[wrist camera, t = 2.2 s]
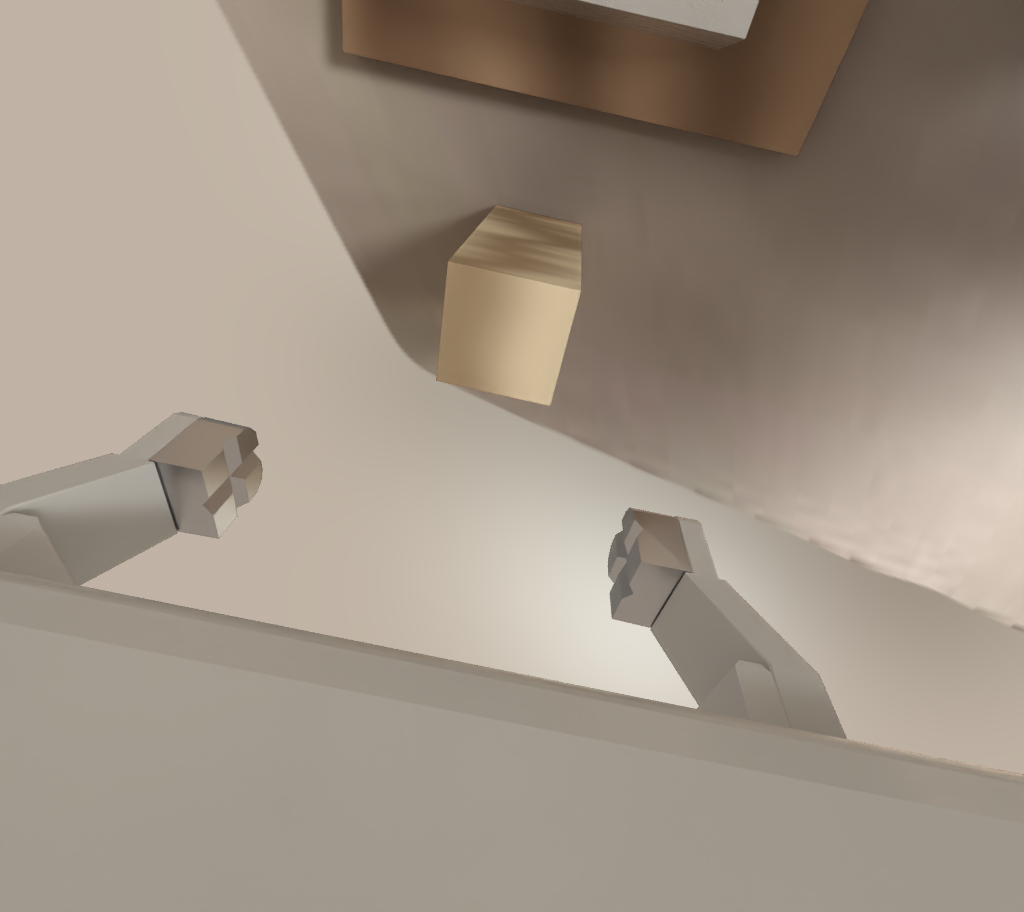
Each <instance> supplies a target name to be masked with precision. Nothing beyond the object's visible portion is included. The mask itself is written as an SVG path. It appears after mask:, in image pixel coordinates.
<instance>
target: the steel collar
mask: <svg viewBox="0 0 1024 912" xmlns="http://www.w3.org/2000/svg"><path fill="white" fill-rule="evenodd" d="M506 1H510V2H514V3H519V4H523V5H527V6H531V7H536V8H540V9H544V10H549V11H553V12H557V13H562V14H566V15H570V16H574V17H579V18H583V19H587V20H592V21H596V22H600V23H605V24H609V25H613V26H618V27H622V28H626V29H630V30H635V31H639V32H643V33H648V34H652V35H656V36H661V37H665V38H669V39H673V40H678V41H682V42H686V43H691V44H695V45H699V46H704V47H708V48H712V49H716V50H719V49H722V48H724V47H727V46H729V45H731V44H734V43H736V42H739V41H741V40H744V39H745V38H746V35H747V33H748V30H749V27H750V24H751V22H752V19H753V16H754V13H755V10H756V8H757V5H758V2H759V0H506Z"/></svg>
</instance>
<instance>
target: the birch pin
mask: <svg viewBox="0 0 1024 912" xmlns="http://www.w3.org/2000/svg"><path fill="white" fill-rule="evenodd" d="M581 252H582V224H577V223H573V222H569V221H564V220H560V219H555V218H551V217H546V216H542V215H538V214H533V213H529V212H524V211H520V210H516V209H511V208H507V207H502V206H498V205H496V206H495V207H494V208H493V209H492V211H491V212H490V213H489V214H488V215H487V216H486V218H485V219H484V220H483V221H482V222H481V223H480V225H479V226H478V227H477V228H476V229H475V230H474V232H473V233H472V234H471V235H470V236H469V237H468V239H467V240H466V241H465V242H464V243H463V244H462V246H461V247H460V248H459V249H458V250H457V251H456V252H455V254H454V255H453V256H452V257H451V258H450V259H449V261H448V266H447V276H446V286H445V297H444V307H443V317H442V327H441V337H440V347H439V357H438V367H437V377H436V381H440V382H445V383H449V384H454V385H458V386H463V387H467V388H472V389H476V390H481V391H485V392H490V393H494V394H499V395H503V396H508V397H512V398H517V399H521V400H526V401H530V402H535V403H539V404H544V405H548V406H550V404H551V401H552V397H553V393H554V390H555V386H556V382H557V378H558V375H559V371H560V367H561V364H562V360H563V356H564V352H565V349H566V345H567V341H568V338H569V334H570V330H571V326H572V323H573V319H574V315H575V311H576V308H577V304H578V300H579V297H580V293H581Z"/></svg>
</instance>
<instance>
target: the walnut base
mask: <svg viewBox="0 0 1024 912" xmlns="http://www.w3.org/2000/svg"><path fill="white" fill-rule="evenodd" d="M868 2H869V0H759V2H758V5H757V8H756V10H755V13H754V16H753V19H752V22H751V24H750V27H749V30H748V33H747V35H746V38H745V39H744V40H741V41H739V42H736V43H734V44H731V45H729V46H727V47H724V48H722V49H719V50H716V49H712V48H708V47H704V46H699V45H695V44H691V43H686V42H682V41H678V40H673V39H669V38H665V37H661V36H656V35H652V34H648V33H643V32H639V31H635V30H630V29H626V28H622V27H618V26H613V25H609V24H605V23H600V22H596V21H592V20H587V19H583V18H579V17H574V16H570V15H566V14H562V13H557V12H553V11H549V10H544V9H540V8H536V7H531V6H527V5H523V4H519V3H514V2H510V1H506V0H342V33H343V52H346V53H350V54H354V55H359V56H363V57H367V58H372V59H376V60H380V61H385V62H389V63H393V64H398V65H402V66H406V67H411V68H415V69H420V70H424V71H428V72H433V73H437V74H441V75H446V76H450V77H454V78H459V79H463V80H467V81H472V82H476V83H480V84H485V85H489V86H493V87H498V88H502V89H506V90H511V91H515V92H519V93H524V94H528V95H533V96H537V97H541V98H546V99H550V100H554V101H559V102H563V103H567V104H572V105H576V106H580V107H585V108H589V109H593V110H598V111H602V112H606V113H611V114H615V115H619V116H624V117H628V118H632V119H637V120H641V121H646V122H650V123H654V124H659V125H663V126H667V127H672V128H676V129H680V130H685V131H689V132H693V133H698V134H702V135H706V136H711V137H715V138H719V139H724V140H728V141H732V142H737V143H741V144H745V145H750V146H754V147H759V148H763V149H767V150H772V151H776V152H780V153H785V154H789V155H793V156H798V154H799V152H800V150H801V147H802V145H803V143H804V141H805V139H806V137H807V134H808V132H809V130H810V128H811V126H812V124H813V121H814V119H815V117H816V115H817V113H818V111H819V108H820V106H821V104H822V102H823V100H824V98H825V95H826V93H827V91H828V89H829V87H830V85H831V82H832V80H833V78H834V76H835V74H836V72H837V69H838V67H839V65H840V63H841V61H842V59H843V56H844V54H845V52H846V50H847V48H848V45H849V43H850V41H851V39H852V37H853V35H854V32H855V30H856V28H857V26H858V24H859V22H860V19H861V17H862V15H863V13H864V11H865V9H866V6H867V4H868Z"/></svg>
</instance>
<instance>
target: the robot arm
mask: <svg viewBox="0 0 1024 912" xmlns="http://www.w3.org/2000/svg"><path fill="white" fill-rule="evenodd" d="M257 446H258V440H257V435H256V432H255V431H254V430H252V429H251V428H248V427H245V426H240V425H236V424H232V423H228V422H223V421H219V420H215V419H210V418H206V417H205V418H203V417H200V416H196V415H192V414H187V413H182V412H181V413H175V414H173V415H171V416H170V417H169V418H167V419H166V420H165V421H163V422H162V423H161V424H159V425H158V426H157V427H155V428H154V429H153V430H151V431H150V432H149V433H147V434H146V435H145V436H143V437H142V438H141V439H140V440H138V441H137V442H136V443H134V444H133V445H132V446H130V447H129V448H128V449H126V450H125V451H124V452H122V453H121V454H120V455H118V454H112V453H111V454H107V455H104V456H100V457H97V458H93V459H89V460H86V461H83V462H79V463H75V464H72V465H69V466H65V467H61V468H58V469H54V470H51V471H47V472H44V473H40V474H37V475H33V476H30V477H26V478H23V479H19V480H16V481H12V482H9V483H5V484H1V485H0V912H1024V774H1020V773H1014V772H1009V771H1004V770H999V769H994V768H989V767H983V766H979V765H974V764H969V763H964V762H959V761H953V760H948V759H943V758H938V757H933V756H928V755H923V754H918V753H913V752H908V751H903V750H898V749H893V748H888V747H883V746H878V745H873V744H868V743H863V742H858V741H852V740H848V739H847V738H846V735H845V733H844V731H843V728H842V726H841V724H840V722H839V719H838V717H837V714H836V712H835V710H834V707H833V705H832V703H831V700H830V698H829V696H828V693H827V691H826V689H825V686H824V684H823V682H822V679H821V677H820V675H819V674H818V673H817V672H816V671H815V670H814V669H813V668H812V667H811V666H810V665H809V664H808V663H807V662H806V661H805V660H804V659H803V658H802V657H801V656H800V655H799V654H798V653H797V652H796V651H795V650H794V649H793V648H792V647H791V646H790V645H789V644H788V643H787V642H786V641H785V640H784V639H783V638H782V637H781V636H780V635H779V634H778V633H777V632H776V631H775V630H774V629H773V628H772V627H771V626H770V625H769V624H768V623H767V622H766V621H765V620H764V619H763V618H762V617H761V616H760V615H759V614H758V613H757V612H756V611H755V610H754V609H753V608H752V607H751V606H750V605H749V604H748V603H747V602H746V601H745V600H744V599H743V598H742V597H741V596H740V595H739V594H738V593H737V592H736V591H735V590H734V589H733V588H732V587H731V586H730V585H729V584H728V583H727V582H726V581H725V580H721V579H718V576H717V573H716V570H715V567H714V563H713V560H712V557H711V554H710V551H709V547H708V544H707V541H706V538H705V535H704V532H703V529H702V525H701V523H700V522H698V521H697V520H692V519H687V518H681V517H672V516H668V515H663V514H659V513H654V512H649V511H644V510H639V509H634V508H629V509H628V510H627V511H626V513H625V515H624V517H623V519H622V526H623V531H621V532H620V533H618V534H616V535H615V538H614V540H613V542H612V545H611V549H610V553H609V558H608V575H609V577H610V579H611V580H612V581H613V582H614V585H613V587H612V589H611V591H610V601H611V614H612V619H615V620H620V621H624V622H628V623H632V624H637V625H641V626H646V627H650V628H651V631H652V633H653V634H654V636H655V637H656V639H657V641H658V642H659V644H660V646H661V647H662V649H663V650H664V652H665V653H666V655H667V657H668V658H669V660H670V661H671V663H672V664H673V666H674V668H675V669H676V671H677V672H678V674H679V675H680V677H681V678H682V680H683V682H684V683H685V685H686V686H687V688H688V689H689V691H690V693H691V694H692V696H693V697H694V698H695V700H696V702H697V704H698V705H699V707H698V708H697V709H693V708H689V707H684V706H678V705H674V704H669V703H663V702H659V701H654V700H649V699H644V698H638V697H634V696H629V695H624V694H618V693H614V692H609V691H604V690H598V689H594V688H589V687H584V686H579V685H574V684H568V683H564V682H559V681H554V680H549V679H543V678H539V677H534V676H529V675H524V674H518V673H514V672H508V671H504V670H499V669H493V668H489V667H483V666H478V665H473V664H468V663H463V662H458V661H453V660H448V659H443V658H438V657H433V656H428V655H423V654H418V653H413V652H408V651H403V650H398V649H393V648H388V647H383V646H378V645H373V644H368V643H363V642H358V641H353V640H348V639H344V638H338V637H333V636H328V635H323V634H319V633H314V632H308V631H304V630H298V629H293V628H289V627H284V626H279V625H274V624H268V623H264V622H259V621H254V620H248V619H243V618H239V617H234V616H229V615H224V614H218V613H214V612H209V611H204V610H199V609H194V608H189V607H183V606H178V605H174V604H169V603H163V602H158V601H154V600H148V599H144V598H139V597H134V596H129V595H124V594H119V593H114V592H109V591H103V590H99V589H94V588H89V587H84V586H80V585H82V584H83V583H85V582H87V581H89V580H91V579H93V578H95V577H97V576H98V575H100V574H102V573H104V572H106V571H108V570H109V569H112V568H113V567H115V566H117V565H119V564H121V563H123V562H125V561H127V560H128V559H130V558H132V557H134V556H136V555H138V554H139V553H142V552H143V551H145V550H147V549H149V548H151V547H153V546H155V545H157V544H158V543H160V542H162V541H164V540H166V539H168V538H170V537H172V536H173V535H175V534H177V531H179V532H185V533H190V534H196V535H201V536H207V537H213V538H220V537H221V536H222V535H223V533H224V532H225V531H226V530H227V529H228V527H229V526H230V525H231V524H232V523H233V521H234V520H235V519H236V518H237V517H238V516H237V510H236V508H237V507H239V506H241V505H244V504H246V503H248V502H250V501H251V499H252V498H253V497H254V495H255V494H256V493H257V490H258V488H259V486H260V483H261V480H262V464H261V460H260V459H259V458H258V457H257V456H256V454H255V453H254V452H253V450H254V449H255V448H256V447H257Z"/></svg>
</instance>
